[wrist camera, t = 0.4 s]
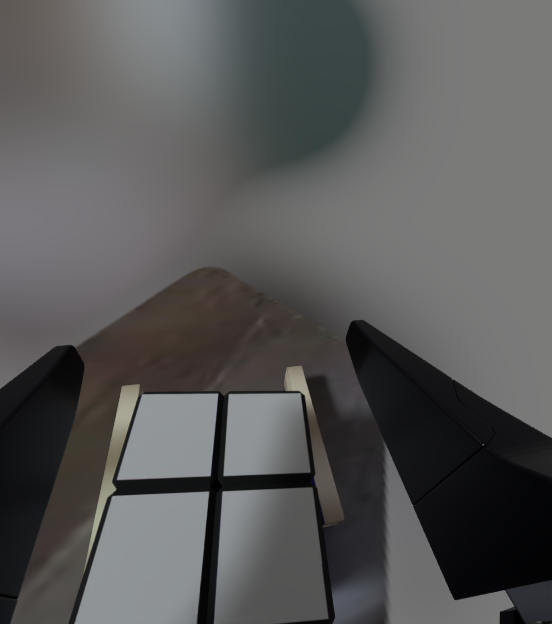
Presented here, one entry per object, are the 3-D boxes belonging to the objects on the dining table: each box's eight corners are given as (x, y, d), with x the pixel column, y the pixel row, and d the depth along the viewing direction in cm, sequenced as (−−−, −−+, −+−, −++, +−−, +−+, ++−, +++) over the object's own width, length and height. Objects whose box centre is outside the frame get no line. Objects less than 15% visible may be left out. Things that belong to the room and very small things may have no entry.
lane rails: (334, 524, 21) (345, 519, 18) (102, 579, 18) (82, 580, 15) (296, 381, 29) (301, 365, 26) (132, 402, 26) (122, 386, 23)
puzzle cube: (299, 606, 18) (339, 631, 10) (135, 622, 17) (52, 661, 9) (286, 442, 24) (304, 387, 17) (169, 445, 23) (137, 389, 16)
